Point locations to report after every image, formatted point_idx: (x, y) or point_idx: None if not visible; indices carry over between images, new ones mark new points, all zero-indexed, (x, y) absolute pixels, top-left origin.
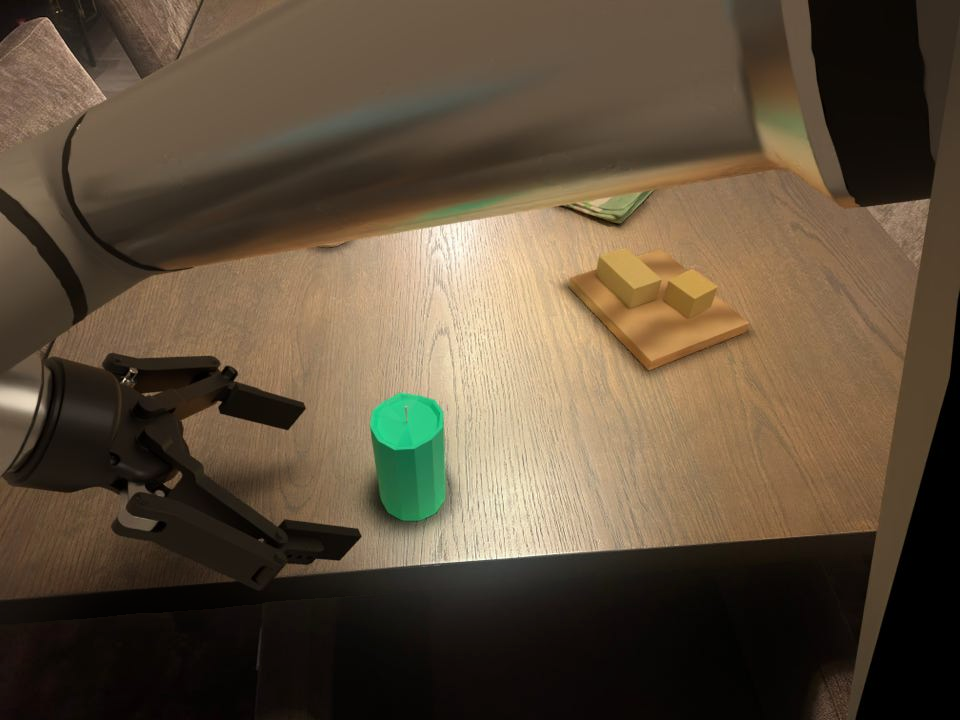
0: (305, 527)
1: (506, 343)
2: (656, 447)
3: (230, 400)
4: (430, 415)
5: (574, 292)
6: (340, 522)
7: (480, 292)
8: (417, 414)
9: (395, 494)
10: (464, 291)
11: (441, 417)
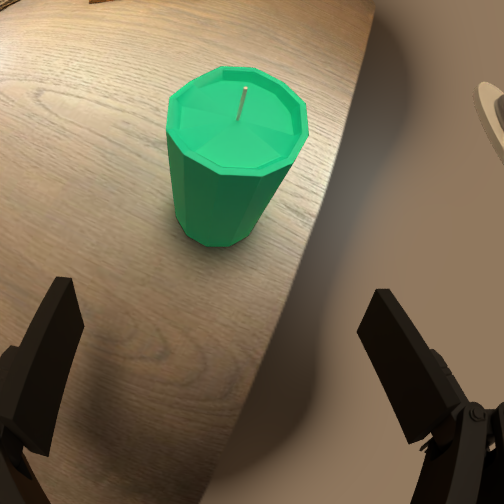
0: (438, 371)
1: (97, 51)
2: (280, 28)
3: (30, 438)
4: (242, 86)
5: (98, 1)
6: (213, 306)
7: (32, 54)
8: (228, 100)
9: (253, 221)
10: (19, 65)
11: (264, 75)
